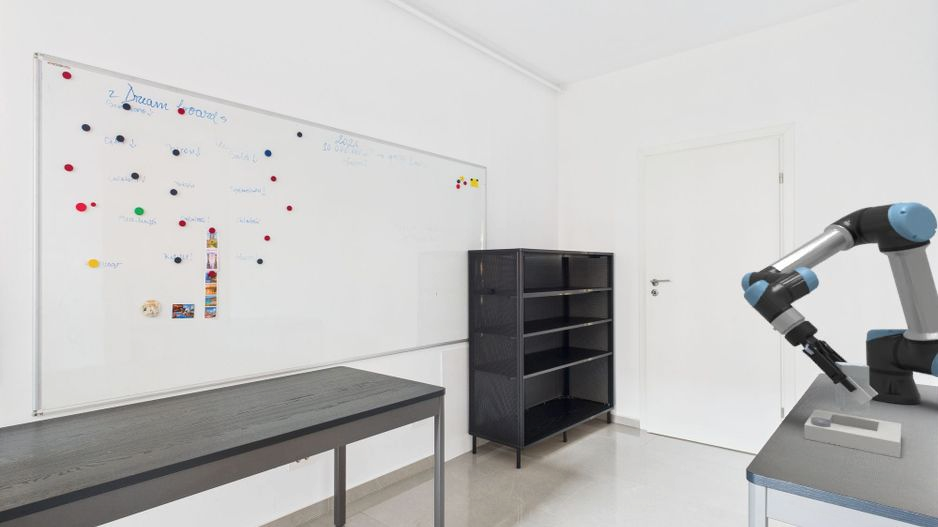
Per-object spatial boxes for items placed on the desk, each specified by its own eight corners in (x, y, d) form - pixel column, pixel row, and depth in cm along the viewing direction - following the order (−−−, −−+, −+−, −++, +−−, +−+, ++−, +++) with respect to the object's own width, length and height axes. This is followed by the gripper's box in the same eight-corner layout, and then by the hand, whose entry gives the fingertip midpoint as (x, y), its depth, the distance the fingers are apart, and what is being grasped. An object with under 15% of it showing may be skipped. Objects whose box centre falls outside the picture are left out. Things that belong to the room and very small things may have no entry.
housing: (814, 421, 134) (814, 405, 134) (901, 437, 121) (901, 419, 121) (804, 438, 121) (804, 419, 121) (900, 458, 108) (900, 437, 108)
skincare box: (862, 409, 124) (862, 363, 124) (870, 414, 120) (870, 366, 120) (834, 406, 126) (834, 361, 126) (841, 411, 122) (841, 364, 122)
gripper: (794, 333, 141) (865, 400, 128) (771, 339, 128) (847, 414, 116) (816, 317, 137) (891, 385, 124) (794, 321, 124) (875, 397, 112)
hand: (870, 399), depth 120 cm, fingers closed on skincare box, 6 cm apart
